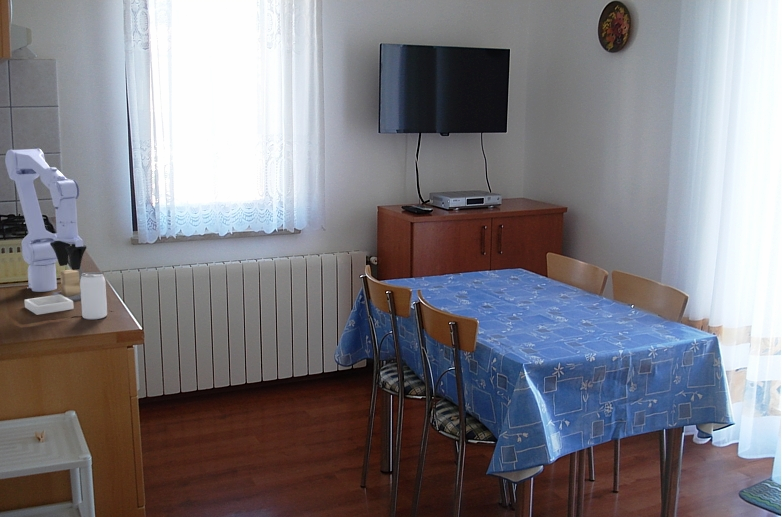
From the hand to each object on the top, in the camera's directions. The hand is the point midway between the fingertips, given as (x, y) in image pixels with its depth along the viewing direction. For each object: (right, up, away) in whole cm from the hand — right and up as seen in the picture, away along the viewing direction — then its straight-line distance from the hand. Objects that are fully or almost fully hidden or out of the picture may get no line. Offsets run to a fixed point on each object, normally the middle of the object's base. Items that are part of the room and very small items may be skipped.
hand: (69, 267), depth 234 cm
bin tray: (-2, -12, -8) cm, 15 cm away
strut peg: (-1, -9, +3) cm, 9 cm away
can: (+13, -14, -14) cm, 23 cm away
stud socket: (-1, -10, +3) cm, 10 cm away
